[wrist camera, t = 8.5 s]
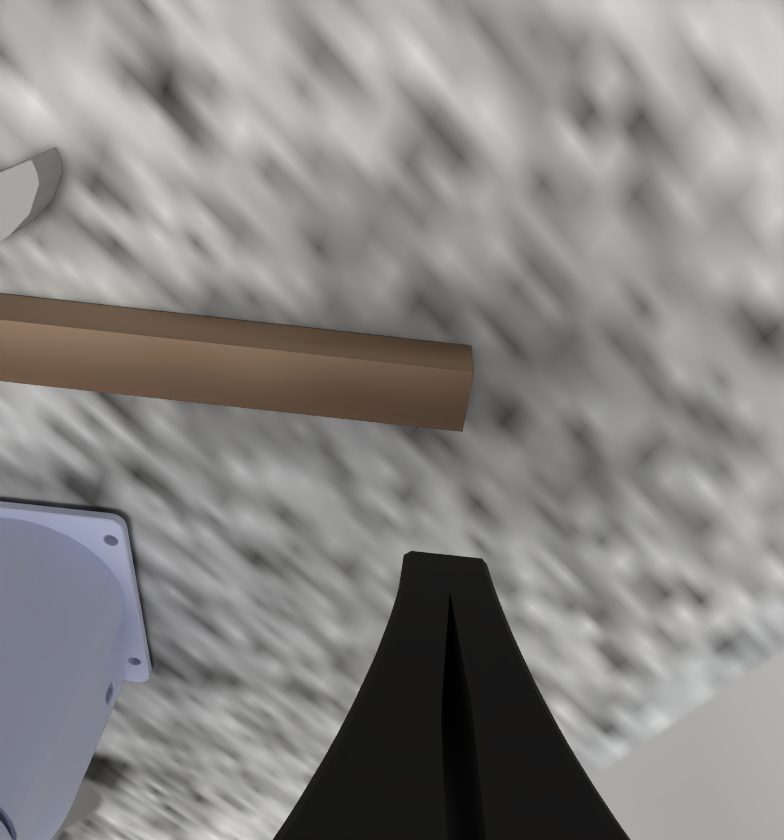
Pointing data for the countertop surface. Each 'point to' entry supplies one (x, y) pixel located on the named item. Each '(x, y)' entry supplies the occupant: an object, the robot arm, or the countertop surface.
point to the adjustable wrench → (27, 190)
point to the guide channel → (234, 363)
